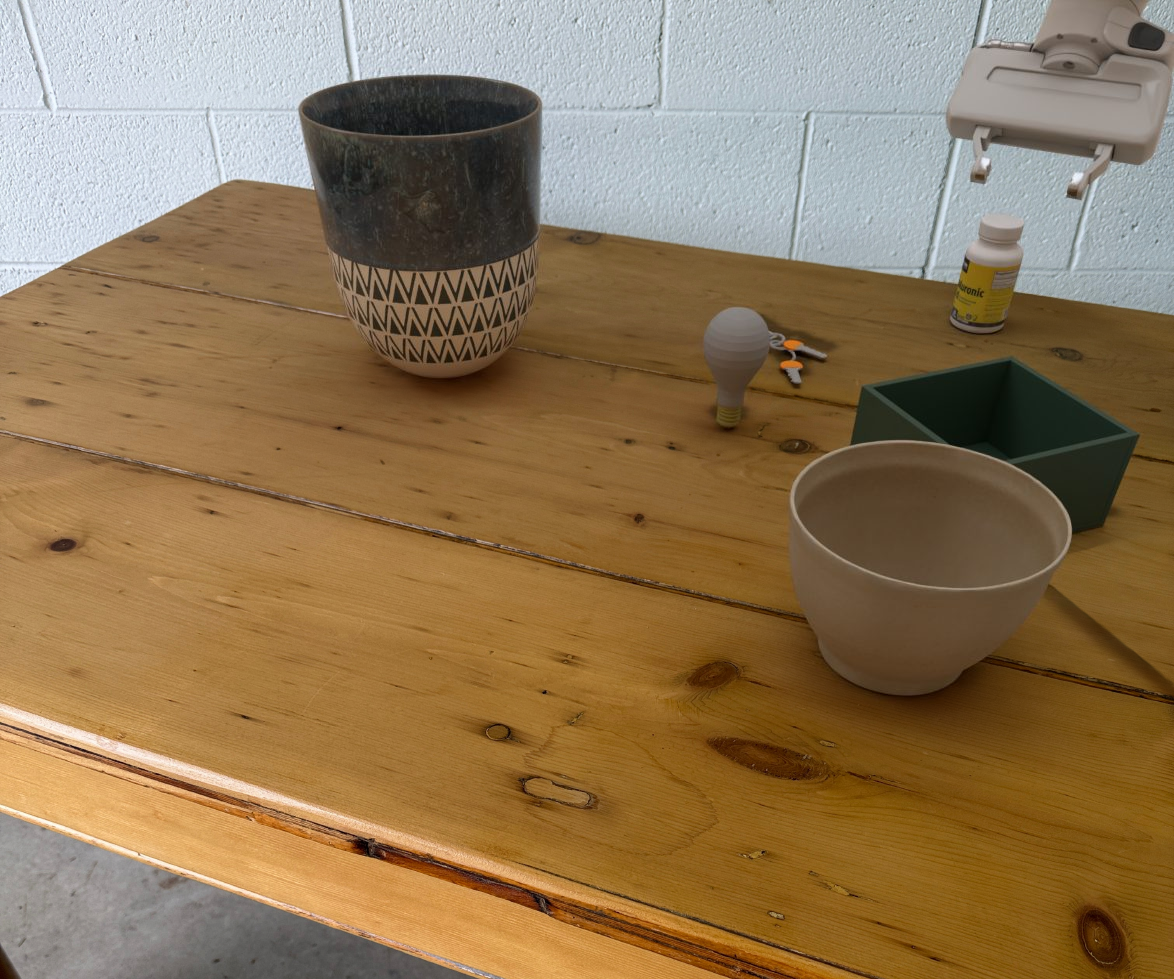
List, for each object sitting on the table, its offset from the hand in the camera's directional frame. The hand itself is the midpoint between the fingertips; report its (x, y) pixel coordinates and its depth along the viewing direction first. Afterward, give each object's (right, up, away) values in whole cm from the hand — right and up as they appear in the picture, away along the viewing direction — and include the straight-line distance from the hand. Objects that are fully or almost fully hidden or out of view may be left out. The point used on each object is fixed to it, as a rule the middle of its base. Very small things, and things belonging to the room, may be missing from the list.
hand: (1024, 187), depth 103 cm
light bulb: (-31, -28, -12) cm, 43 cm away
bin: (-13, -36, -20) cm, 44 cm away
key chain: (-25, -17, -2) cm, 31 cm away
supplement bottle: (-3, -12, +4) cm, 13 cm away
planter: (-57, -19, -4) cm, 60 cm away
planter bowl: (-23, -50, -34) cm, 65 cm away
